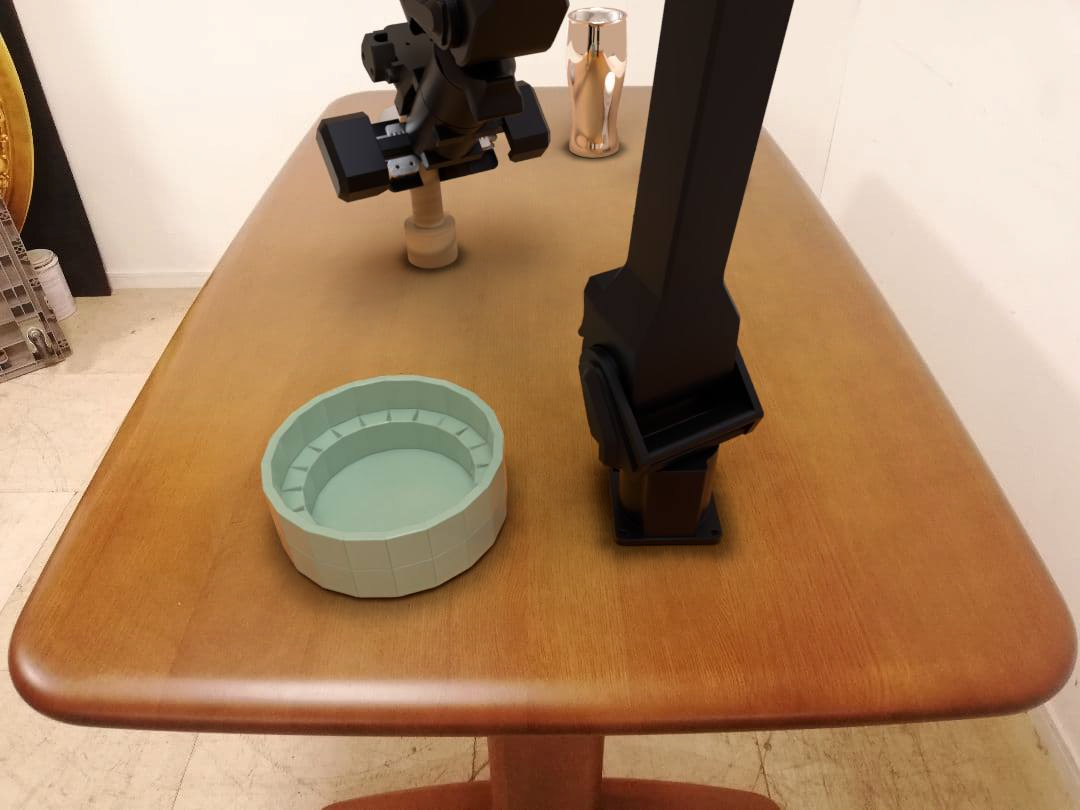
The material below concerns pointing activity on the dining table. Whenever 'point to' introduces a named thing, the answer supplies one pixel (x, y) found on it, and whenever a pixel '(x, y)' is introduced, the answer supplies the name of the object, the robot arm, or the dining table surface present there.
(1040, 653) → the dining table surface
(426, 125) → the robot arm
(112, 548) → the dining table surface
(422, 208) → the pestle
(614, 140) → the beer glass
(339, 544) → the bowl
